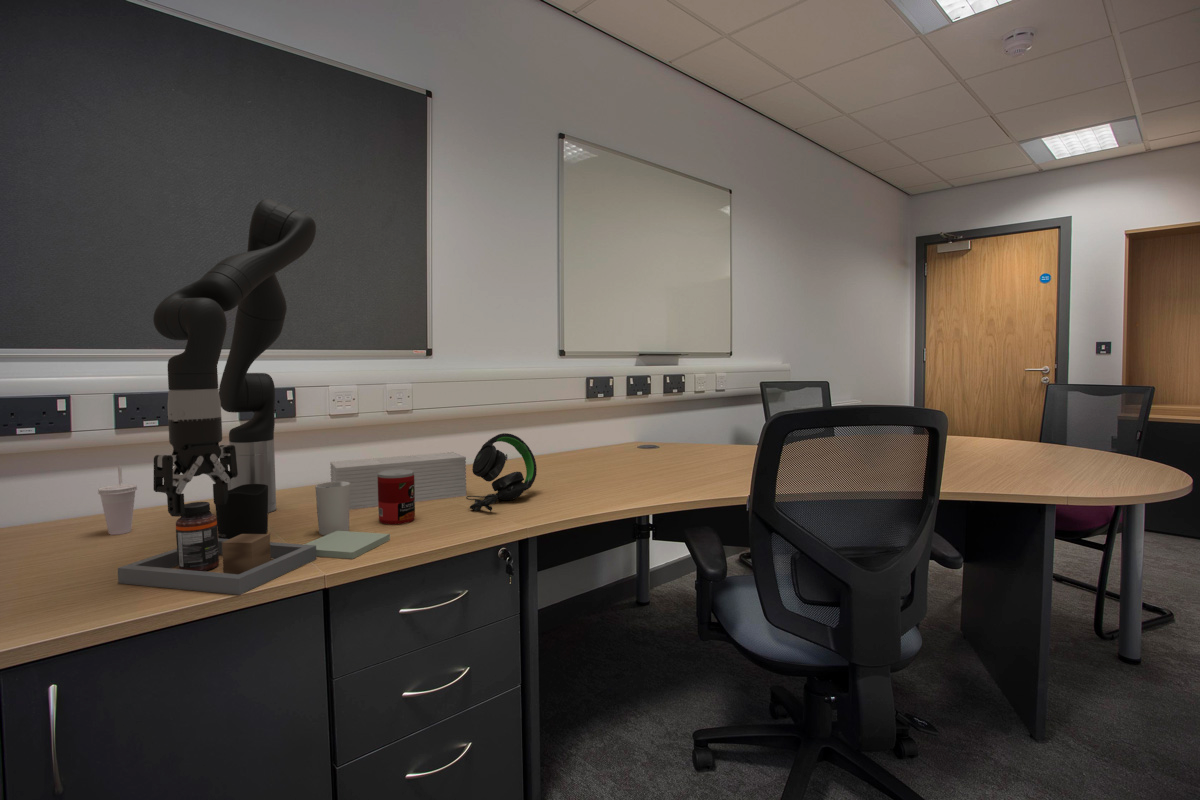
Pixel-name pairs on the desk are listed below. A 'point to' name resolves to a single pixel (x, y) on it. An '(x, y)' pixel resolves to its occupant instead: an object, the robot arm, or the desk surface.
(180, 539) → the supplement bottle
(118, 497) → the smoothie
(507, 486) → the headset
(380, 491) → the canned food
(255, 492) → the pen holder
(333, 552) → the green board
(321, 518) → the grey cup
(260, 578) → the parts tray
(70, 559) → the desk surface
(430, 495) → the grey ridged block
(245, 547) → the walnut block
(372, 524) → the desk surface
